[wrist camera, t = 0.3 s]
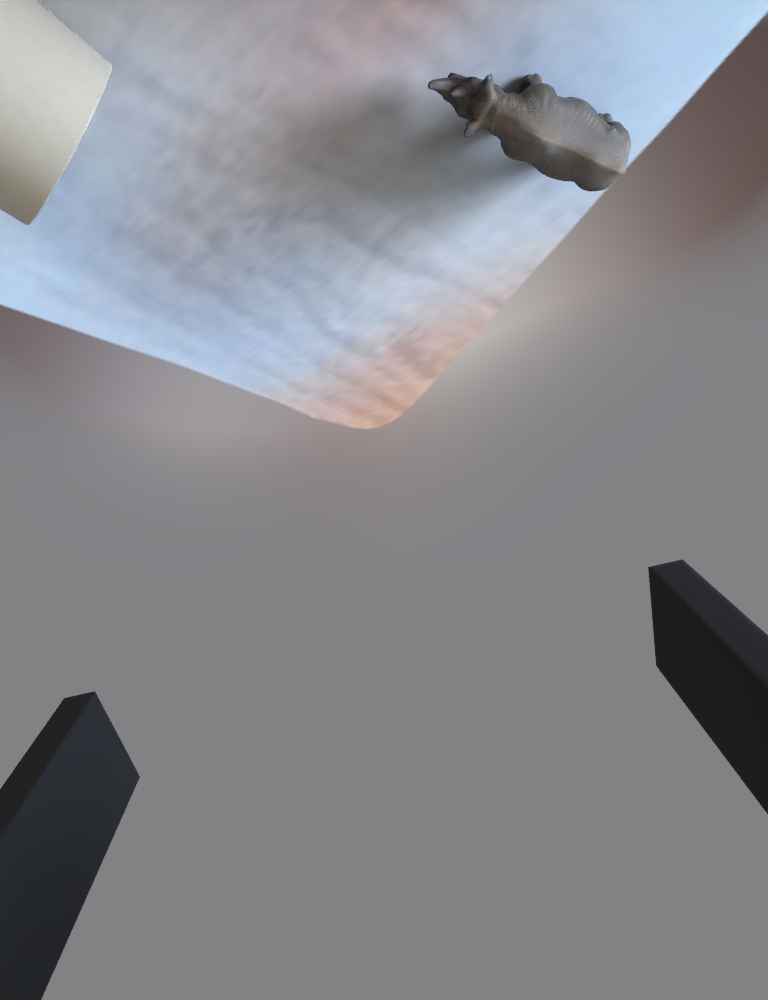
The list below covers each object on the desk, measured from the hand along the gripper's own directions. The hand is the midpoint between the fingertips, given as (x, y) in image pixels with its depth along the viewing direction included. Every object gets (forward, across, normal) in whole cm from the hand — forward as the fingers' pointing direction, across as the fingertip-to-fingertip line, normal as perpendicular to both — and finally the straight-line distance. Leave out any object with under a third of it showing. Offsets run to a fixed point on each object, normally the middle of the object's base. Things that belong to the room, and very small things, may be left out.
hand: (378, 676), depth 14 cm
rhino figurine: (+31, +14, +16) cm, 37 cm away
